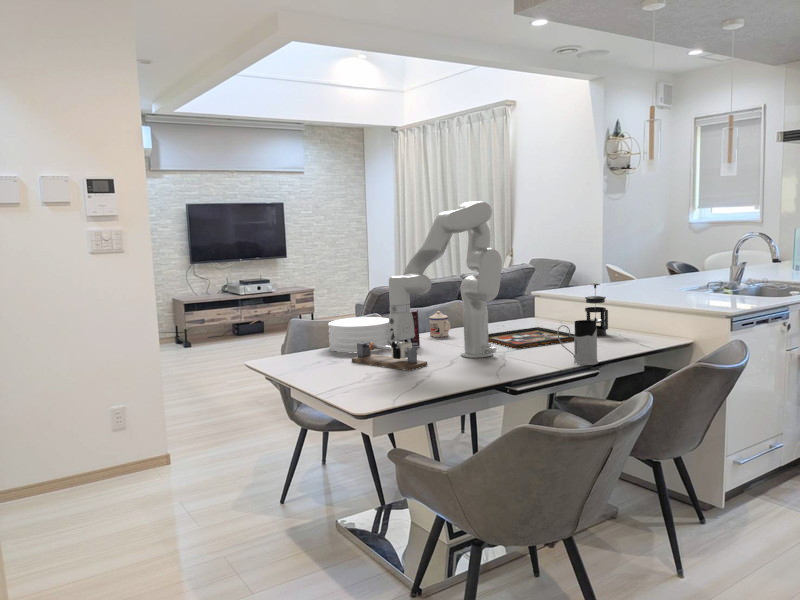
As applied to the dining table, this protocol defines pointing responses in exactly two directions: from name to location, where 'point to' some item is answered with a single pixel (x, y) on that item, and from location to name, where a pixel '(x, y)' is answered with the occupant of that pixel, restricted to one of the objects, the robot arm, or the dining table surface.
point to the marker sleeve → (403, 349)
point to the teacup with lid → (439, 325)
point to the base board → (389, 362)
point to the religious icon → (529, 337)
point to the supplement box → (415, 329)
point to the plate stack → (357, 333)
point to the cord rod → (366, 348)
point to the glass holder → (584, 342)
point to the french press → (604, 320)
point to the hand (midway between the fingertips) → (402, 356)
